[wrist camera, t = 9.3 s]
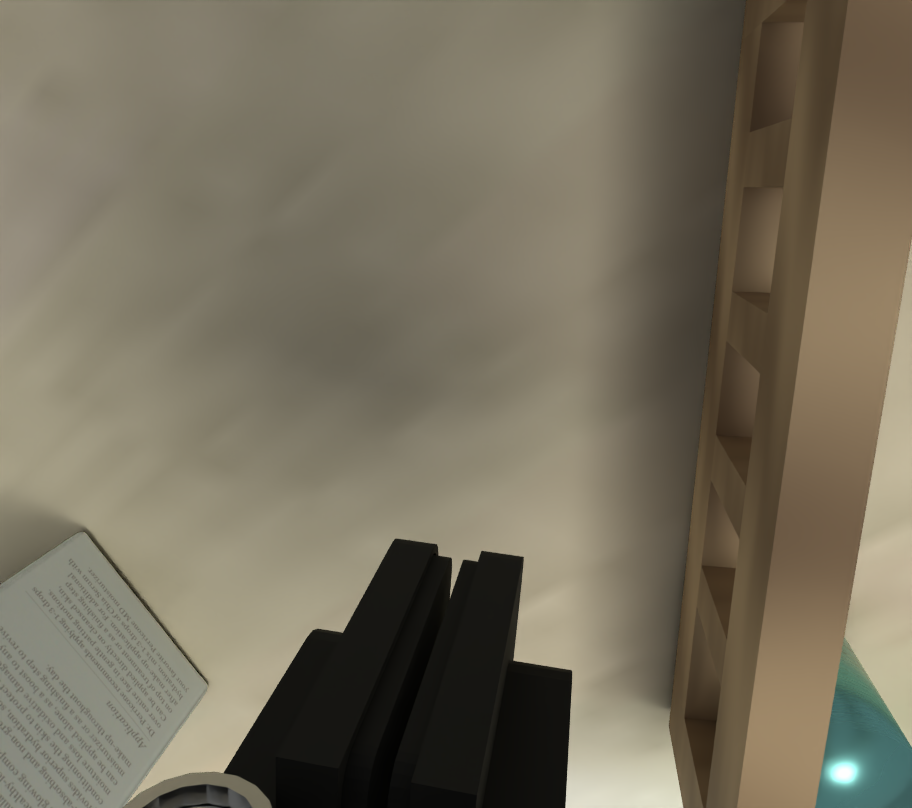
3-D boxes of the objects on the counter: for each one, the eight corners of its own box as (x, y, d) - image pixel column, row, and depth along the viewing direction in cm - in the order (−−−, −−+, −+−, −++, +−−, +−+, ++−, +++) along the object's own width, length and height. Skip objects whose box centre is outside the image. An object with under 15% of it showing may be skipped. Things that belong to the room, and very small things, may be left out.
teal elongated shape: (866, -205, 15) (1367, -885, 6) (843, 702, 20) (1087, 1163, 11) (705, -177, 16) (913, -758, 6) (721, 702, 21) (850, 1142, 11)
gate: (750, -47, 16) (877, -218, 9) (814, -48, 15) (990, -223, 9) (668, 725, 20) (713, 976, 14) (716, 731, 20) (784, 987, 14)
